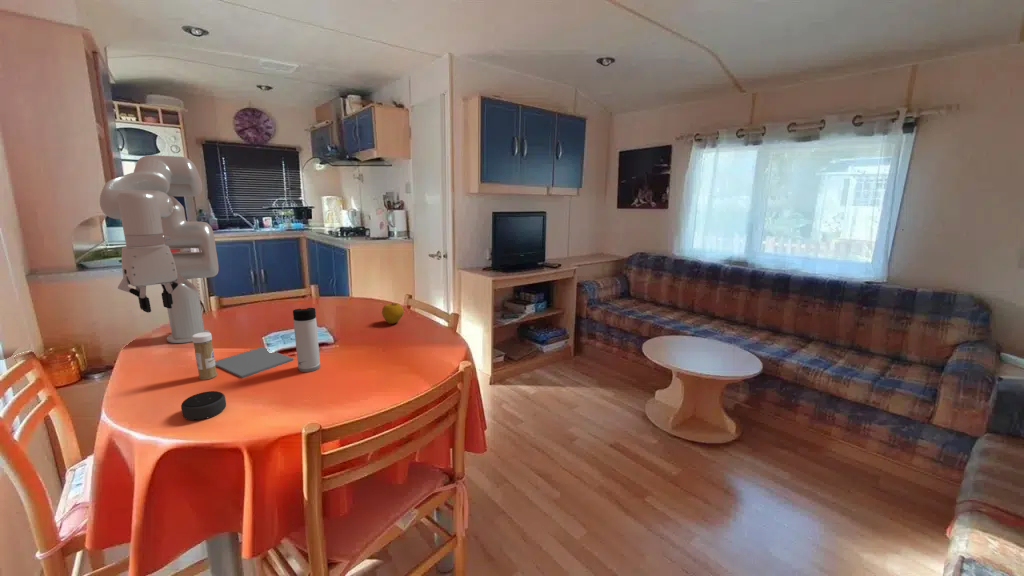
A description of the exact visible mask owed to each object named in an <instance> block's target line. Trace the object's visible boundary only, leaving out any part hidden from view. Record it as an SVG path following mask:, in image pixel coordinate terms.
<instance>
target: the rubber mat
mask: <svg viewBox="0 0 1024 576" xmlns="http://www.w3.org/2000/svg"><path fill="white" fill-rule="evenodd" d="M267 349H268V347H267V348H266V347H264V346H261V347H257V348H254V349H251V350H248V351H244V352H240V353H237V354H234V355H230V356H227V357H225V358H221V359H218V360H215V366H216V367H217V368H219V369H221V370H224V371H226V372H228V373H230V374H232V375H234V376H236V377H240V378H241V379H244V378H247V377H249V376H253V375H254V374H258V373H261V372H263V371H266V370H270V369H272V368H274V367H278V366H281V365H283V364H287V363H289V362H292V361H294V357H290V356H287V355H285V354H282V353H280V352H277V351H275V352H276V353H269V352H268V351H267Z"/></svg>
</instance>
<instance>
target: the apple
mask: <svg viewBox="0 0 1024 576" xmlns="http://www.w3.org/2000/svg"><path fill="white" fill-rule="evenodd" d="M381 315H382V317H383V319H384V320H385V321H386V322H387V323H388V324H389V325H394V324H396V323H398V322H399V321H400V320H401V318H402V317H403V315H404V307H403V306H402V305H401V304H399V303H397V302H390V303H387V304H385V305H384V306H383V307H382V311H381Z"/></svg>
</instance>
